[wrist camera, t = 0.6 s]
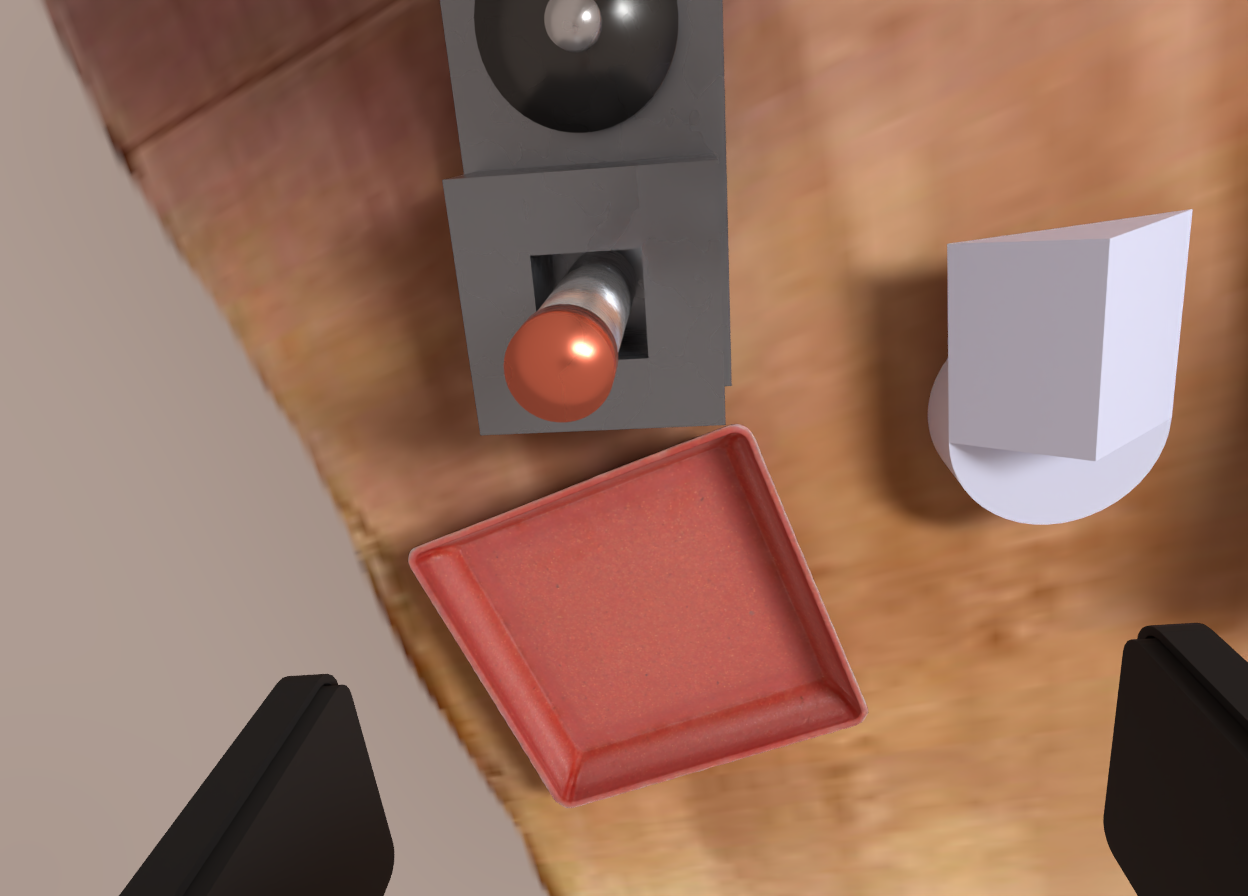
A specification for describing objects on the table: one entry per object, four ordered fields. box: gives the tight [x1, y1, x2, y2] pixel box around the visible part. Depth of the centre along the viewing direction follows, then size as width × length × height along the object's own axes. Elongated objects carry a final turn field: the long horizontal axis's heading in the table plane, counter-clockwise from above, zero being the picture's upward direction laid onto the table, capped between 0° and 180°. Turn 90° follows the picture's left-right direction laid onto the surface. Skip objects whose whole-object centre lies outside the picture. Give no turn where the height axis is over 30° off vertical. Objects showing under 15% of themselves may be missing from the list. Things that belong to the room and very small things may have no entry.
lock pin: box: [504, 250, 637, 422], centre depth 29 cm, size 3×3×13 cm
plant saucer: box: [408, 424, 868, 808], centre depth 42 cm, size 18×18×3 cm
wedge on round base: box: [928, 209, 1193, 525], centre depth 34 cm, size 9×7×13 cm
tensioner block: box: [440, 0, 732, 435], centre depth 32 cm, size 19×11×6 cm, turn 4°
